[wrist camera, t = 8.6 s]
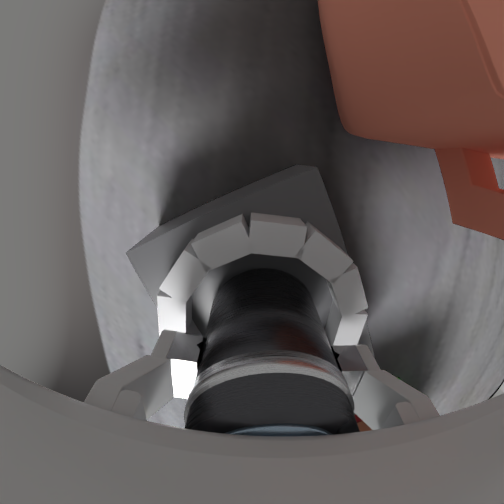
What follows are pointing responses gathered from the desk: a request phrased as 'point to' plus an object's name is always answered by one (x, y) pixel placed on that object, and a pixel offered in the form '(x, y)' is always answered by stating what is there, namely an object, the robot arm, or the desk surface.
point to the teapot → (426, 88)
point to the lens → (268, 364)
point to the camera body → (255, 254)
